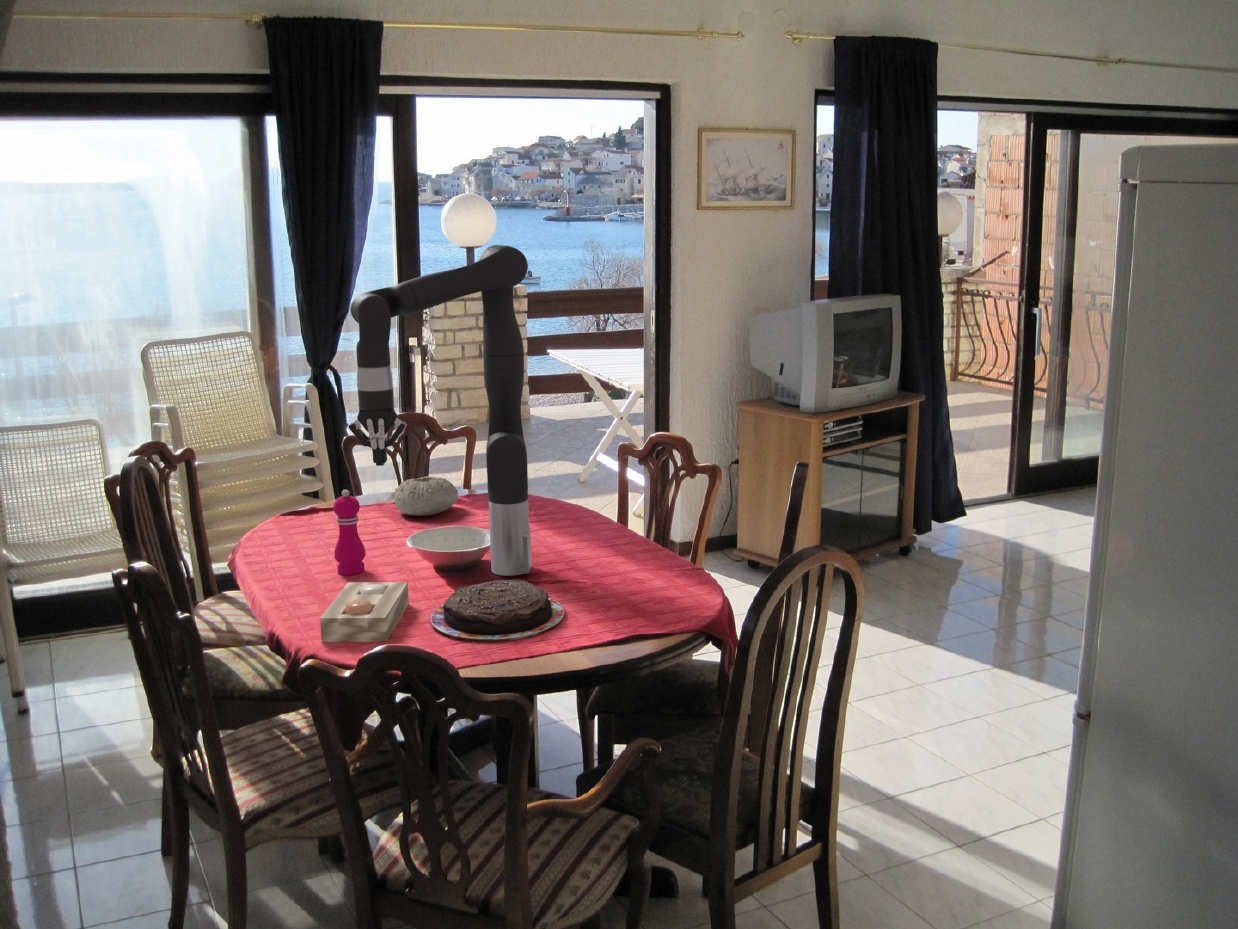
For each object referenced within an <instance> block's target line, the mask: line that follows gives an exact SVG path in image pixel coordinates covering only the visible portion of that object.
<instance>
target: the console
mask: <svg viewBox="0 0 1238 929" xmlns="http://www.w3.org/2000/svg"><path fill="white" fill-rule="evenodd" d="M370 584H380V585H383V586H384V590H385V592H384V594H361V592H360V588H361V587H363V586H365V585H370ZM355 600H367V601H370V602H371V613H370V614H346V604H347V603H348V602H351V601H355ZM409 605H410V597H409V582H408V581H398V582H397V581H389V582H387V581H386V582H385V581H383V582H379V581H378V582H377V581H376V582H374V581H371V582H367V581H366V582H362V581H361V582H359V581H358V582H347V583H346V584H345V586H344V587H343V588H342V589H341V591H340V592H339V593H338V595H337V596H336V597H335V598H334V600H333V601H332V602H331V603H330V605H329V606H328V607H327V609H326V610H325V611H324V612H323V614H321V616H320V617H319V623H320V624H319V625H320V626H319V627H320V637H321V642H322V643H344V642H345V643H346V642H347V643H350V642H351V643H352V642H353V643H359V642H360V643H361V642H362V643H363V642H364V643H366V642H367V643H369V642H370V643H371V642H373V643H376V642H377V643H379V642H381V641H385V642H387V641H388V640H389V638H390V636H391V635H392V633H393V632H394V630H395V628H396V626H397V625H398V623H399V622H400V620H401V618H402V617H403V616H404V613H405V611H406V610H407V608H408V606H409ZM374 641H375V642H374ZM381 643H382V642H381Z"/></svg>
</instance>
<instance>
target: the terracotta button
mask: <svg viewBox="0 0 1238 929" xmlns="http://www.w3.org/2000/svg"><path fill="white" fill-rule="evenodd" d="M370 613H371V602H370V601H367V600H355V601H351V602H348V603H347V604H346V614H370Z"/></svg>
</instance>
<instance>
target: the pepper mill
mask: <svg viewBox="0 0 1238 929" xmlns="http://www.w3.org/2000/svg"><path fill="white" fill-rule="evenodd" d="M341 495H342V496H339V497H337V498H336V499H335V501H334V503H333V512H334V514H335V515H337V516H336V518H335V519H336V524H338V532H339V534H338V538H337V542H336V545H335V547H334V554H333V557H334V559H335V561H337V563H338V564H337V565H336V566H337V574H338V575H341V576H344V577H345V576H357V575H360V574H362V573H364V572H365V562H363V560H364V559H365V557H366V548H365V545H364V544H363V542H362V540H361V538H360V535H359V533H358V526H357V525H358V523H359V515H358V513H359V512H360V507H361V506H360V502H359V500H358V499H357V498H356V497H355V496H352V495H350V491H349V490H348V489H343V490H342V491H341Z"/></svg>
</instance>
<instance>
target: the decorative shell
mask: <svg viewBox="0 0 1238 929" xmlns="http://www.w3.org/2000/svg"><path fill="white" fill-rule="evenodd" d="M394 491H395V492H394V495H393V501H394V504H395V506H396V508H397V510H399V511H400V512H401V513H402V514H404V515H409V516H418V517H423V516H426V517H427V516H434V515H437V514H439V513H442V512H445V511H447V510H448V509H449V508H451V507H452V506H454V505H455V504H456V502H457V501H458V500H459V499H458V498H459V490H458V489H457V488H456V487H455V485H454V484H453V483H452V482H451V481H449V480H448V479H446V478H444V477H437V476H430V475H427V476H421V477H418V478H410V479H406V480H404V481H402V482H401V483H400V484H399V485H398V487H396V488H394Z"/></svg>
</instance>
